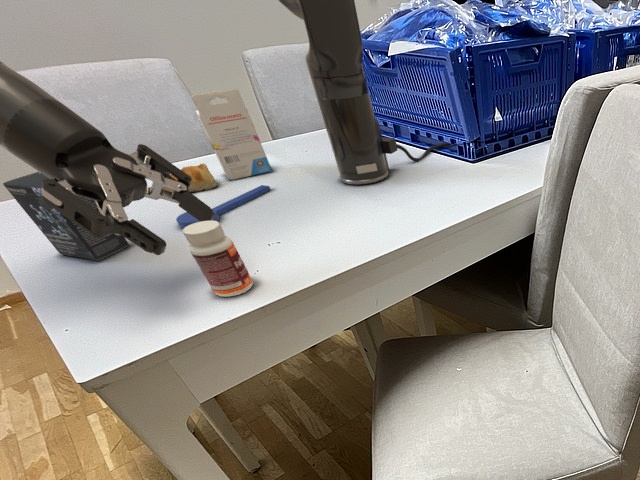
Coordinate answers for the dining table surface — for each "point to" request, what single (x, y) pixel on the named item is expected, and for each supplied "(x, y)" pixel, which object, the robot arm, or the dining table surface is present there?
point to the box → (61, 222)
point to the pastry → (198, 178)
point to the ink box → (231, 134)
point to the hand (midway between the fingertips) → (189, 234)
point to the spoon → (224, 206)
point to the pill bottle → (218, 258)
